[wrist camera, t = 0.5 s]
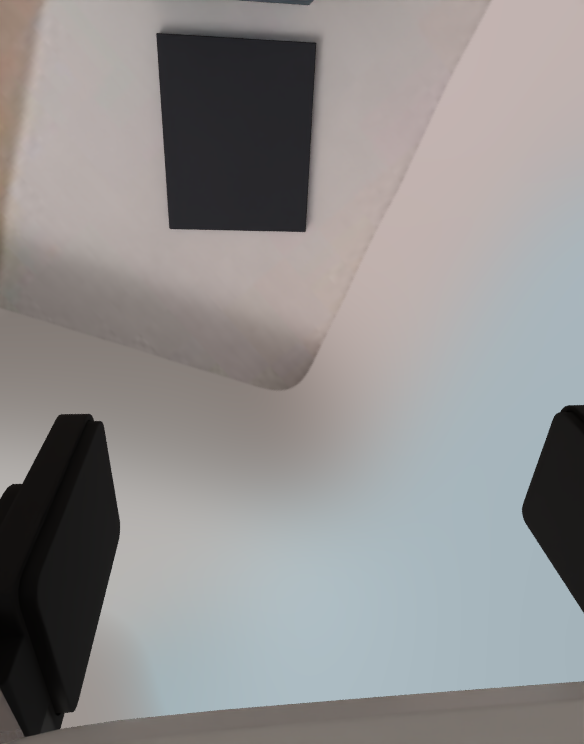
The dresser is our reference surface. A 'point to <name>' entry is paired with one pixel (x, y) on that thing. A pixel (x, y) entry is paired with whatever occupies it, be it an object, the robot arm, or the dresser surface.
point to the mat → (236, 131)
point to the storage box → (285, 1)
